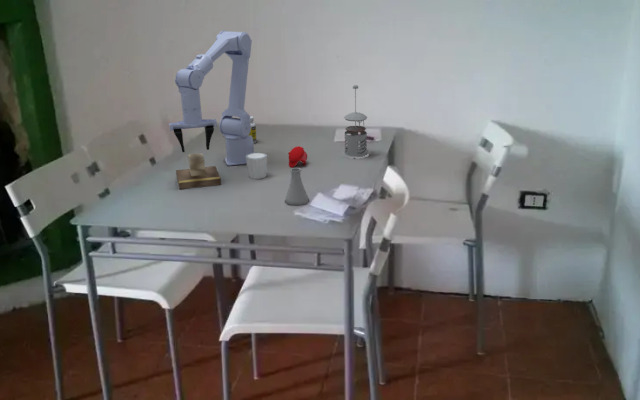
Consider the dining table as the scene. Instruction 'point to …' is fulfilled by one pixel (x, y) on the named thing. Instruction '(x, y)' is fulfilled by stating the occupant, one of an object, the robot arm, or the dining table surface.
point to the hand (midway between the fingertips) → (195, 150)
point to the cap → (297, 156)
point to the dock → (198, 178)
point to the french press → (355, 134)
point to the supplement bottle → (252, 129)
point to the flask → (296, 189)
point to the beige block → (196, 165)
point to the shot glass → (256, 165)
